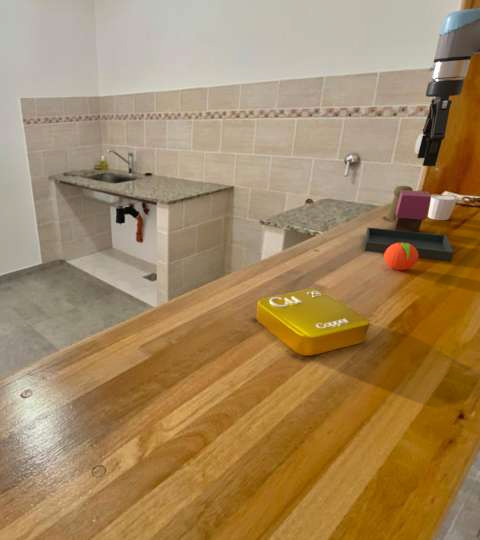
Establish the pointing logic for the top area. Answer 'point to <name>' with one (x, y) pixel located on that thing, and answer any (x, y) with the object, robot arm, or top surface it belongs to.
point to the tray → (409, 242)
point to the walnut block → (407, 224)
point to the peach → (401, 256)
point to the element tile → (311, 321)
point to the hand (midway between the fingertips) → (425, 161)
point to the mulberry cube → (413, 204)
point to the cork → (396, 201)
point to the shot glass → (441, 207)
